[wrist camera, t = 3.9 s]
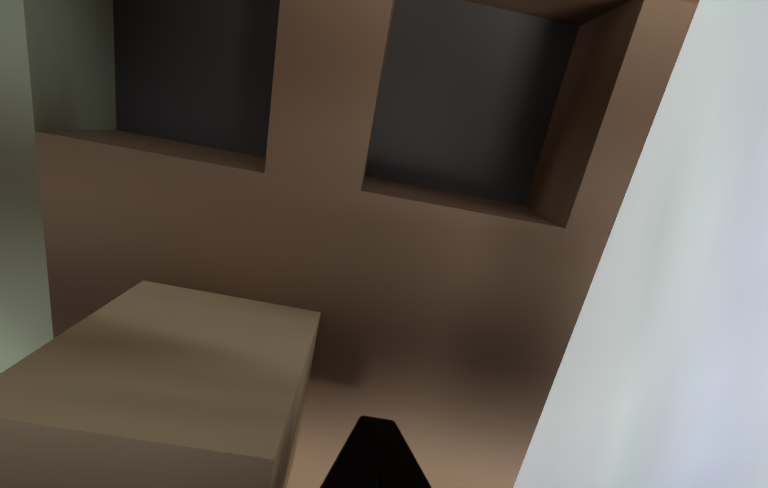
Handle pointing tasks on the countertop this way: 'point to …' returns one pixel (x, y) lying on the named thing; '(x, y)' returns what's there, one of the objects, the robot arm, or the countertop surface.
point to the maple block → (161, 395)
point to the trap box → (337, 188)
